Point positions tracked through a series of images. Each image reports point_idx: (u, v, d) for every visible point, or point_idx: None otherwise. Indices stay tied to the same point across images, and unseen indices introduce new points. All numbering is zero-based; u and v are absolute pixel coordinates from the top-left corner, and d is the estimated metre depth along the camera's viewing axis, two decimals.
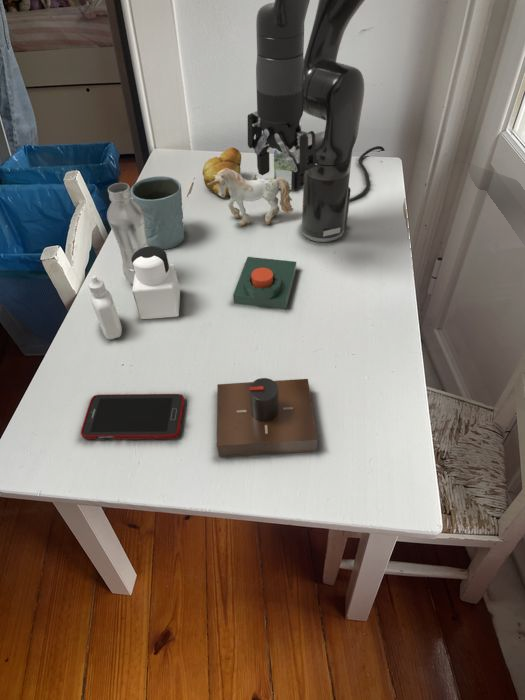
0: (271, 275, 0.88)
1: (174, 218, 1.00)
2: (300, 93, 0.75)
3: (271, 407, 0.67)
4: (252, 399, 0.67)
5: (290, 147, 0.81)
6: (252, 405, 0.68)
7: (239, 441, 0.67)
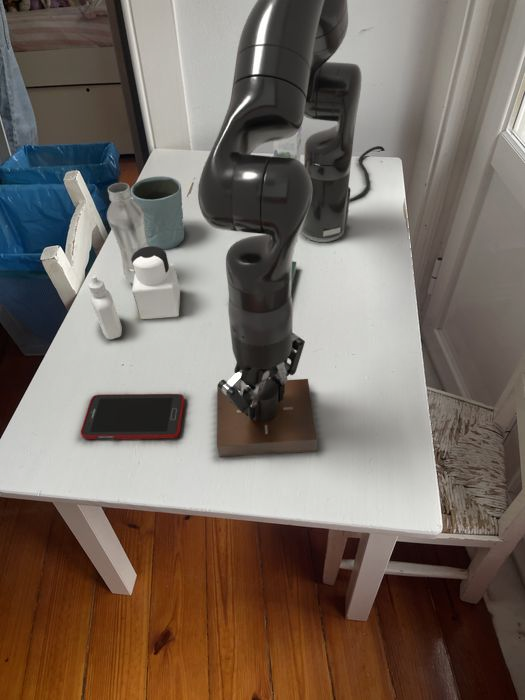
0: None
1: (174, 218, 1.00)
2: (243, 344, 0.56)
3: (271, 407, 0.67)
4: None
5: None
6: None
7: (239, 441, 0.67)
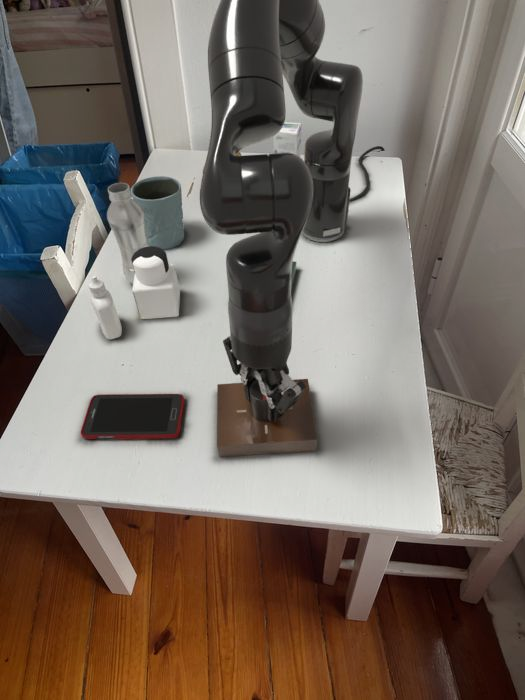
0: None
1: (174, 218, 1.00)
2: (287, 337, 0.57)
3: None
4: None
5: None
6: None
7: (239, 441, 0.67)
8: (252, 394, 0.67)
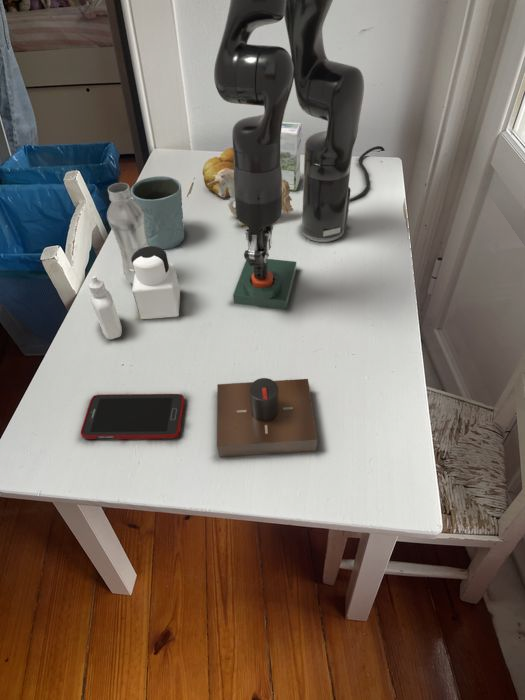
0: (271, 277, 0.89)
1: (174, 218, 1.00)
2: (258, 205, 0.74)
3: None
4: (273, 401, 0.67)
5: None
6: (272, 409, 0.68)
7: (239, 441, 0.67)
8: (252, 394, 0.67)
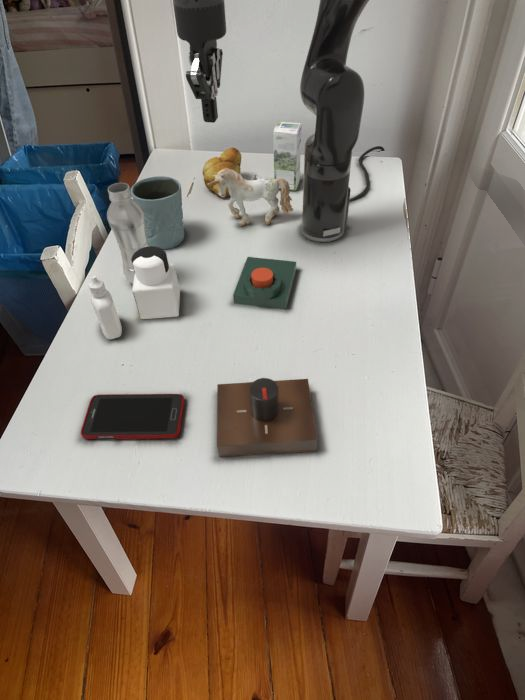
0: (271, 275, 0.88)
1: (174, 218, 1.00)
2: (197, 10, 0.69)
3: None
4: (273, 401, 0.67)
5: None
6: (272, 409, 0.68)
7: (239, 441, 0.67)
8: (252, 394, 0.67)
